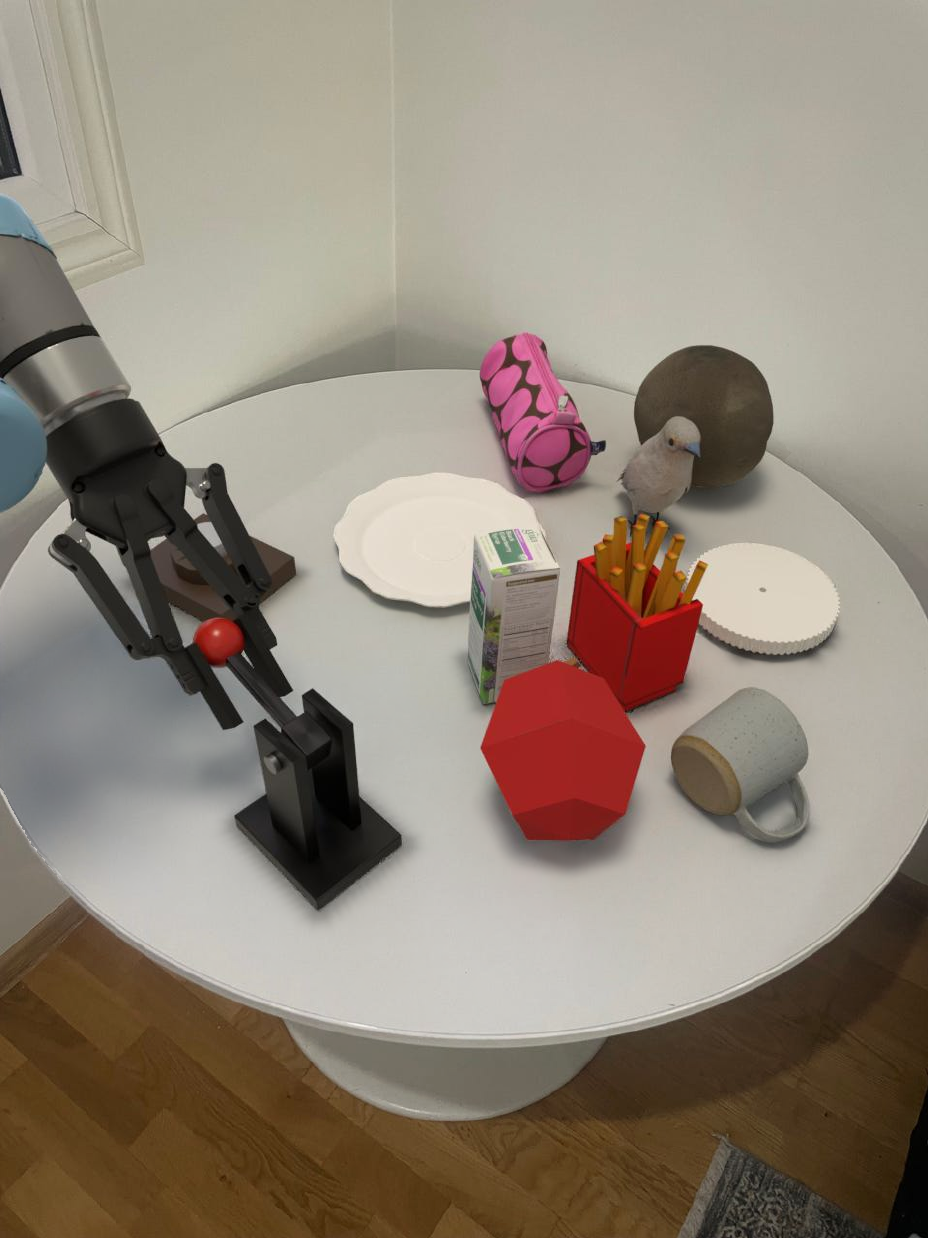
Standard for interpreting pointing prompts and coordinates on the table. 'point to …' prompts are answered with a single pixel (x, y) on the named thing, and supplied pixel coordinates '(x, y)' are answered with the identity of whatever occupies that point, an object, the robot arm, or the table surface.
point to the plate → (424, 535)
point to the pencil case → (535, 415)
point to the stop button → (212, 537)
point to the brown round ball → (710, 409)
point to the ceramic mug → (744, 759)
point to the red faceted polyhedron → (562, 752)
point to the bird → (662, 468)
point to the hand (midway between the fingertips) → (258, 709)
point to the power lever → (261, 688)
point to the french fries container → (635, 613)
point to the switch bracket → (315, 810)
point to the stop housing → (192, 588)
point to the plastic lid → (765, 598)
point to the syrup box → (510, 606)
